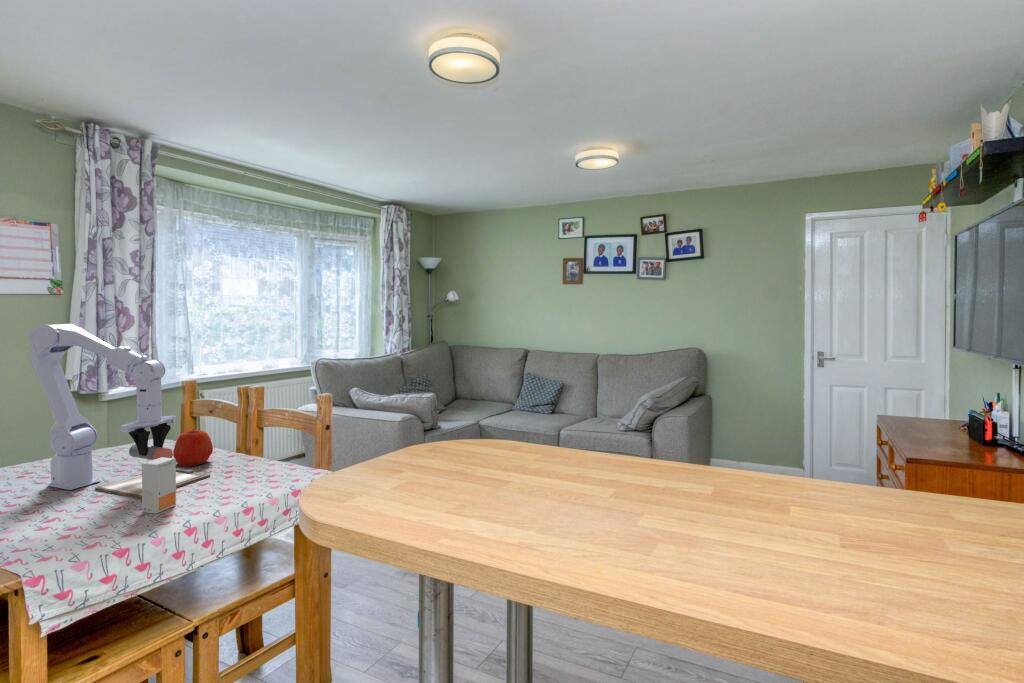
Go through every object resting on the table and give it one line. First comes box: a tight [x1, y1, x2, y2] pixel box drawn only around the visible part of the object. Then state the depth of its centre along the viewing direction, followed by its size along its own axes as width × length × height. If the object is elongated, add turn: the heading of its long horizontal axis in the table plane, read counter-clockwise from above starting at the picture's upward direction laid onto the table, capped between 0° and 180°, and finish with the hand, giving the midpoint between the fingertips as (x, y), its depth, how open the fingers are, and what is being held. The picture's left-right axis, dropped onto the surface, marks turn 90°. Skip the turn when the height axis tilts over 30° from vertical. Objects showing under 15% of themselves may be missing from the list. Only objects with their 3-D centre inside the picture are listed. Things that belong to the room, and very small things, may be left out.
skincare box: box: [141, 457, 177, 515], centre depth 133 cm, size 6×4×12 cm
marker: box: [128, 443, 174, 461], centre depth 151 cm, size 13×4×4 cm, turn 70°
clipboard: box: [94, 467, 211, 500], centre depth 152 cm, size 18×20×1 cm
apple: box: [172, 429, 214, 467], centre depth 171 cm, size 11×11×11 cm
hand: (150, 453), depth 151 cm, fingers closed on marker, 4 cm apart
